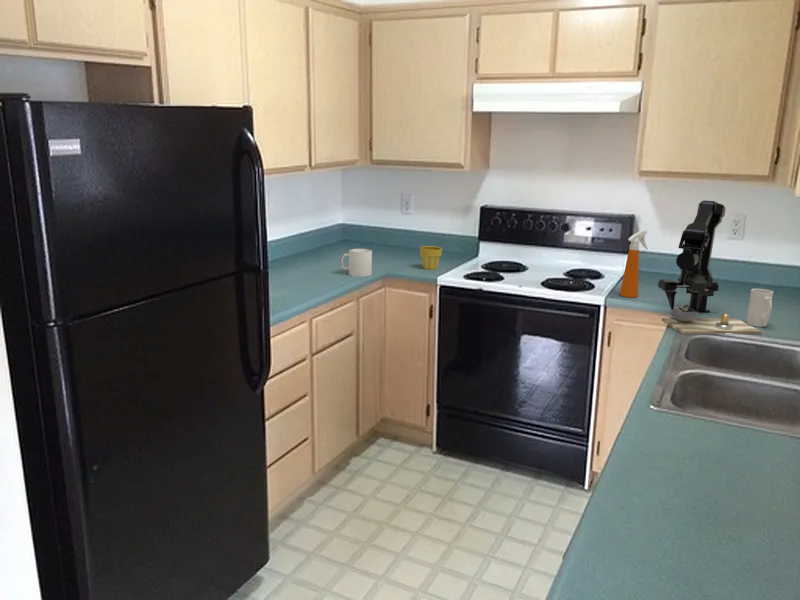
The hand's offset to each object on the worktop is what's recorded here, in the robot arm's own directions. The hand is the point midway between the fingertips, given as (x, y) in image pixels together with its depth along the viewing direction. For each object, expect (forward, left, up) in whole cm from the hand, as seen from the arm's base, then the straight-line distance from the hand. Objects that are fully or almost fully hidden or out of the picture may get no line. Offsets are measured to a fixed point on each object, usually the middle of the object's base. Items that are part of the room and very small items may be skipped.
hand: (685, 309), depth 226 cm
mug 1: (-75, -113, -5) cm, 136 cm away
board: (+5, +7, -5) cm, 10 cm away
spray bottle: (-40, -2, -5) cm, 40 cm away
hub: (+8, +10, -4) cm, 13 cm away
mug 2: (+2, +26, -5) cm, 27 cm away
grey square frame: (0, 0, -3) cm, 3 cm away
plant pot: (-89, -79, -5) cm, 120 cm away
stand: (0, 0, -5) cm, 5 cm away
